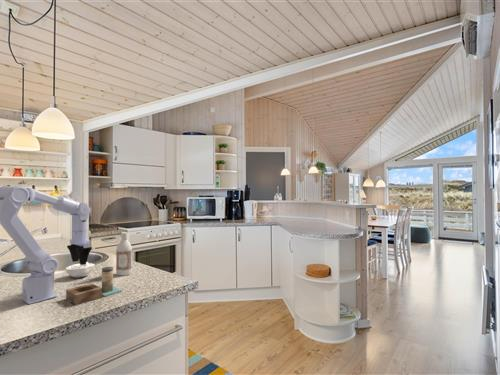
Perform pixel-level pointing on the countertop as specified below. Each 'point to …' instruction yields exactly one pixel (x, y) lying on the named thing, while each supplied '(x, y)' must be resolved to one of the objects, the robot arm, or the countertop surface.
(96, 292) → the walnut block
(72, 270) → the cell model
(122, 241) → the bath foam
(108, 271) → the maple plug
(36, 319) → the countertop surface
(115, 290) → the teal mat
